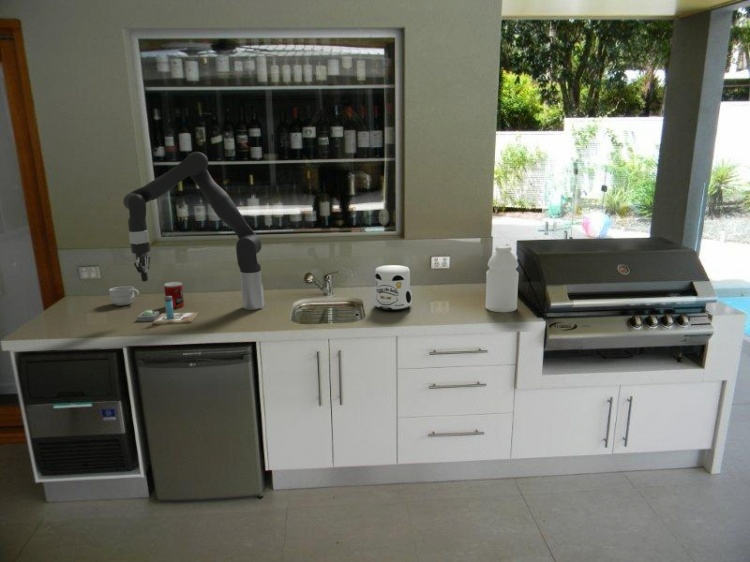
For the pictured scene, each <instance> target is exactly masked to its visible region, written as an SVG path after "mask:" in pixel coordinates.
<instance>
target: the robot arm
mask: <svg viewBox="0 0 750 562" xmlns="http://www.w3.org/2000/svg"><path fill="white" fill-rule="evenodd" d="M208 166H209V160H208V157H207V155H205V153H202V152H200V151H194V152H191V153H189V154H188V156H186V158H184V159H183V160H182V161H181V162H180V163H178V164H177V165H176V166H174V167H173V168H171V169H169V170H168V171H167V172H165V173H163V174H162V175H159V176H158V177H156V178H155V179H153V180H152V181H150V182H148V183H147V184H145V185H143V186H142V187H139V188H137V189H135V190H132V191H131V192H129V193H128V194H126V195H125V196H124V198H123V205H124V206H125V208H126V209H127V210H128V212H129V214H128V215H129V217H128V220H127V222H128V223H127V224H128V225H127V226H128V231H129V233H128V234H129V236H128V237H129V243H130V251H131V254H134V255H135V262H134V264H133V265H134V267H135V268H136V271H137V272H138V273H139V274H140V277H141V281H142V282H148V280H149V276H148V271H149V270H150V263H151V256H148V253H150V252H151V244H150V243H151V242H150V236H149V233H148V232H149V231H148V226H147V220H146V219H147V203H149V202H150V201H151V202H152V201H155V200H157V199H159V198H161V197H162V196H164V195H165V194H167V193H168V192H169V191H171V190H172V189H174V187H176V186H177V185H178V184H179V183H181V182H182V181H183V180H185V179H186V178H188V177H190V178H191V179H192V181H193V182H194V183H195V184H196V185H197V187H198V188H199V189H200V191H201V193H202V194H203V196H204V198H205V199H206V201H207V202H208V204H209V205H210V207H211V208H212V210H213V212H214V213H215V215H216V217H218V218H219V220H220V221H222V222H223V223H224V224H225V225H226V226H227V227H229V228H230V229H231V230H232V231H233V232H234V233H235V235H236V236H237V238H238V240H237V241H236V243H235V244H236V245H235V252H236V259H237V266H238V268H239V272H240V273H239V275H240V285H241V287H240V288H241V297H242V299H241V300H242V308H243V310H247V311H248V310H249V311H252V310H253V311H254V310H259V309H263V308H264V306H265V295H264V293H265V292H264V285H263V282H262V268H261V263H259V262H258V257H257V255H258V253H259V252H260V251H261V250H262V242H261V239H260V237H258V235H257V234H256V233H255V231H254V230H253V229H252V228H251V226H249V224H248V223H247V221H246V220H245V218H244V216H243V215H242V214H241V212H240V211H239V209H238V208H237V205H236V204H235V203H234V201H233V200H232V198H231V197H230V195H229V194H228V193H227V192H226V191H225V190H224V189H223V188H222V187H221V186H220V185H219V184H218V183H217V182H215V180H214V179H213V177H212V176H211V174H210V172H209V170H208V168H209V167H208Z"/></svg>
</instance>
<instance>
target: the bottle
mask: <svg viewBox="0 0 750 562" xmlns="http://www.w3.org/2000/svg"><path fill="white" fill-rule="evenodd" d="M487 267H488V270H486V274H485V275H486V276H485V277H486V284H485V286H486V287H485V289H486V290H485V303H484V304H485V308H486V310H488V311H491V312H496V313H511V312H514V311H516V310H517V309H518V295H519V294H518V293H519V292H518V289H519V275H520V274H519V271H517V268H518V267H519V263H518V259H517V257H515V255H514V254H513V253H512V246H510V245H506V244H505V245H502V244H500V245H496V246H495V252H494V253H493V254H492V255H491V256H490V257H489V259H488V262H487Z"/></svg>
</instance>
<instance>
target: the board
mask: <svg viewBox="0 0 750 562" xmlns="http://www.w3.org/2000/svg"><path fill="white" fill-rule="evenodd" d="M173 313H174V318H172V319H167V317H166V312H165V313H164V312H163V313H161V314H159V315H160V316H159V317H158V318H157V319H156V320H155V321H152V324H153V325H167V324H170V325H171V324H192V323H193V321H195V319H197V317H198V315H199V312H173Z"/></svg>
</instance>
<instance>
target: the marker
mask: <svg viewBox="0 0 750 562" xmlns="http://www.w3.org/2000/svg"><path fill="white" fill-rule="evenodd" d="M163 298H164V303H165V304H164V305H165V313H166V317H167V319H172V318H174V313H175V312H174V309H173V303H172V296H164V297H163Z"/></svg>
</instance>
